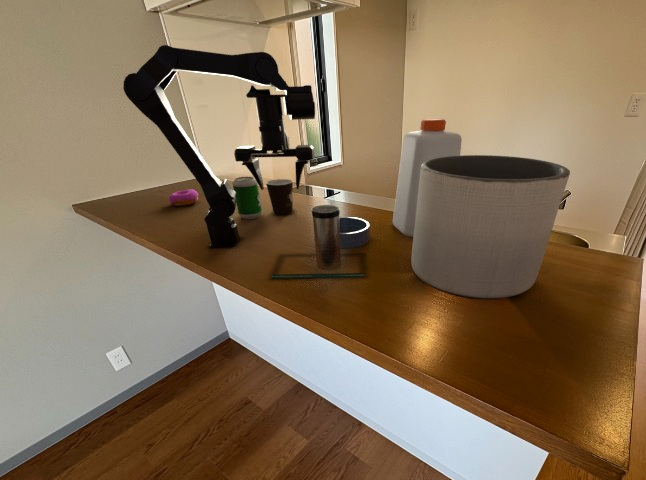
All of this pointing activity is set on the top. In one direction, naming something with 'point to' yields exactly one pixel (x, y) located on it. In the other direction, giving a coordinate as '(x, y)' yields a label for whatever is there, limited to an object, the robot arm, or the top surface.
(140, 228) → the top surface
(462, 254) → the planter
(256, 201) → the soda can
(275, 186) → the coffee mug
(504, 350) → the top surface
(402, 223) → the plastic bottle
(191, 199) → the donut
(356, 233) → the blue bowl
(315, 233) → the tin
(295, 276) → the mat
